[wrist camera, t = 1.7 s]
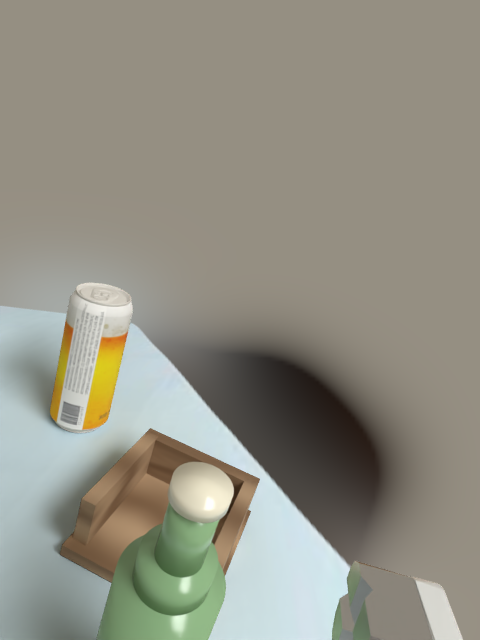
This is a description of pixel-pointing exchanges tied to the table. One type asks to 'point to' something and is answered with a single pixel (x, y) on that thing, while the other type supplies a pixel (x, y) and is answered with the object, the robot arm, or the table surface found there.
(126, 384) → the table surface
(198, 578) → the bottle
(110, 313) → the beer can
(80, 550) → the tray
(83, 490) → the table surface
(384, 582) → the robot arm
